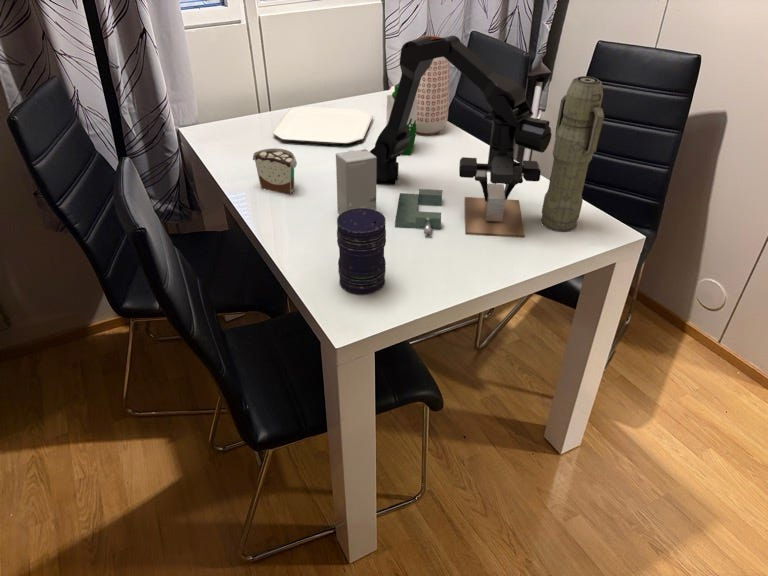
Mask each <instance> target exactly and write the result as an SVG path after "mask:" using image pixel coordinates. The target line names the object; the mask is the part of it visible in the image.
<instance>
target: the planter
mask: <svg viewBox="0 0 768 576" xmlns="http://www.w3.org/2000/svg"><path fill="white" fill-rule="evenodd" d="M426 36H427V37H429V38H430V39H437V38H443V37H442V36H436V35H426ZM420 37H421V36H420ZM420 37H418V38H420ZM450 65H451V63H450V62H449V61H448V60H447V59H446V58H444V57H439V58H434V59H433V61H432V63H431V65H430V67H429V68H428V69H427V71H426V72H425V73H424V75H423V76H422V78H421V80H420V83H419V87H418V90H417V97H418V104H417V130H416V134H419V135H424V136H425V135H428V136H430V135H431V134H432V135H436V134H438V133H439V132H440V131H441V130H442V129H443V128H444V127H445V125H446V123H447V121H448V119H449V118H448V117H449V107H450V106H449V105H450V104H449V103H450V78H451V77H450V74H451V73H450V71H451V70H450V69H451V67H450ZM432 135H431V136H432Z"/></svg>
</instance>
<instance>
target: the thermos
mask: <svg viewBox="0 0 768 576" xmlns="http://www.w3.org/2000/svg"><path fill="white" fill-rule="evenodd" d="M603 97H604V90H603V81H601V80H599V79H598V78H596V77H594V76H586V75H583V76H577V77H575V78H573V79H572V81H571V83H570V84H569V87H568V89H567V91H566V94H564V96H563V97H562V98H561V99H560V104H559V109H558V115H557V121H556V127H555V137H554V138H555V139H554V140H555V141H554V144H553V150H552V156H553V161H552V167H551V173H550V178H549V182H548V183H549V185H548V189H547V191H546V193H545V194H544V198H543V203H542V209H541V219H540V223H541V225H542V224H543V225H542V226H543V227H544V228H546V229H548V230H551V231H553V232H557V233H559V232H561V233H566V232H567V233H568V232H571V230H572V231H574V230H575V229H576V228H577V224H578V220H579V218H580V216H581V215H580V214H581V211H582V204H583V195H582V194H583V191H584V186H585V183H586V182H585V181H586V177H587V172H588V168H589V164H590V162H591V161H592V160H593V155H594V153H596V152H597V149H598V148H597V147H598V142H599V139H600V134H601V131H602V127H603V123H604V120H605V114H604V108H602V107H601V106H602V102H603Z"/></svg>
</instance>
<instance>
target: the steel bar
mask: <svg viewBox="0 0 768 576" xmlns="http://www.w3.org/2000/svg"><path fill="white" fill-rule="evenodd" d="M504 185H505V184H500V183H497V184H493V183H487V195H488V197H487V201H485V217H486V221H499V222H502V221H503V214H504V207H505V201H506V199H505V191H504V190H505V186H504Z"/></svg>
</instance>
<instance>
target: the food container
mask: <svg viewBox="0 0 768 576" xmlns="http://www.w3.org/2000/svg"><path fill="white" fill-rule="evenodd" d="M252 160H253V161H254V162H255V167H256V172H257V176H258V181H259V186H260V189H261V190H264V189H265V191H268V190H269V191H268V192H271V193H272V192H273V193H277V194H281V195H285V196H286V195H287V196H290V197H292V195H293V194H294V192H295V168H296V167H297V165H298V164H297V163H298V162H297V159H296V156H295V154H294V153H293V152H292V151H290V150H287V149H284V148H272V147H271V148H266V149H260V150H257V151H255V152H253V155H252Z"/></svg>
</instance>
